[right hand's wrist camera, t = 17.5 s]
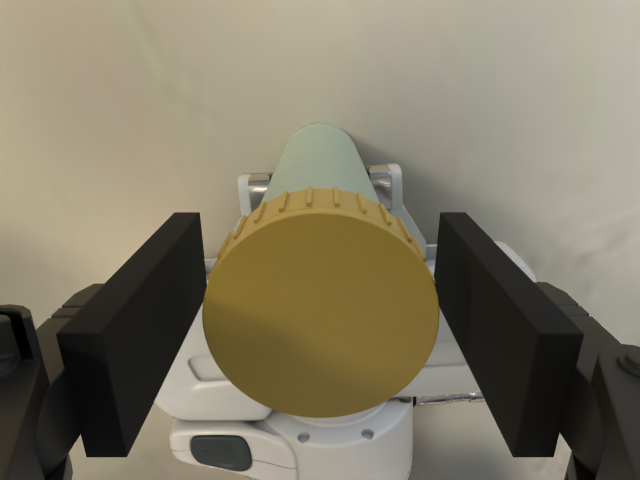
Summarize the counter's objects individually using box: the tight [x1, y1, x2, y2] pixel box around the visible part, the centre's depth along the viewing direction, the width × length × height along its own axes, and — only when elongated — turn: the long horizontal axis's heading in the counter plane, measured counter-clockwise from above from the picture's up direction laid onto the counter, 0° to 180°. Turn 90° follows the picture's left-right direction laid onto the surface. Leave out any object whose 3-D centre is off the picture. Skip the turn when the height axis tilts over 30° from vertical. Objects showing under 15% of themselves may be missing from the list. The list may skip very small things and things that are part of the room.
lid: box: [202, 186, 440, 418], centre depth 11 cm, size 6×6×2 cm
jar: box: [262, 123, 380, 205], centre depth 19 cm, size 5×5×17 cm
